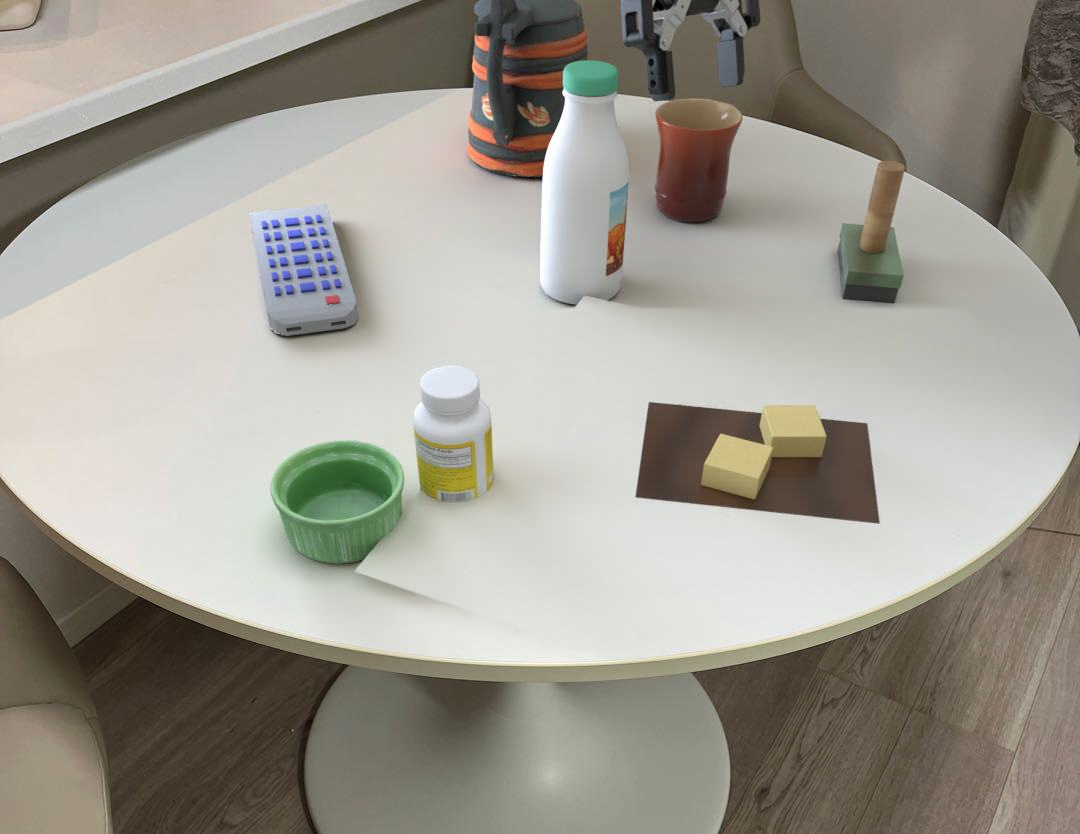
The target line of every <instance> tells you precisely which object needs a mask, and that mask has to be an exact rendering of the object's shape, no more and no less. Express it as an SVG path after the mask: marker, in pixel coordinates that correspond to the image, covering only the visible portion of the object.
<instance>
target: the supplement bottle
mask: <svg viewBox="0 0 1080 834" xmlns="http://www.w3.org/2000/svg"><path fill="white" fill-rule="evenodd" d="M419 387H420V400H421V401H420V403H419V404H418V405H417V406H416V407H415V409H414V412H413V418H412V420H413V423H412V424H413V434H414V444H415V452H416V453H415V454H416V463H417V472H418V473H417V474H418V481H419V483H418V484H419V490H420V492H424V493H425V494H426V495H427V496H429V497H431V498H432V499H435V500H438V501H441V502H447V503H463V502H468V501H472V500H475V499H477V498H479V497H481V496H483V495H484V494H485V493H487V492H489V490H490V489H491V488H492V486H493V484H494V480H495V479H494V478H495V476H494V454H493V427H492V424H493V423H492V413H491V410H490V407H489V406H488V404H487V403H486V401H485V400H483V399H482V398H481V387H480V379H479V376H478V375H477V373H476V372H474V371H473V370H472V369H470V368H468V367H464V366H461V365H442V366H437V367H435V368H432V369H430V370H428V371H427V372H426V373H425V374H423V376H422V377H421V379H420V382H419Z"/></svg>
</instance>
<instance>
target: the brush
mask: <svg viewBox="0 0 1080 834" xmlns="http://www.w3.org/2000/svg"><path fill="white" fill-rule="evenodd" d="M905 170H906V167H905V165H904V164H903V163H901V162H899V161H895V160H883V161H880V162H878V163H877V166H876V170H875V175H874V179H873V183H872V189H871V192H870V196H869V201H868V206H867V209H866V213H865V217H864V223H863V224H859V223H847V222H846V223H845V222H842V224H841V227H840V231H839V243H838V248H837V259H838V268H839V278H840V286H841V295H842V300H843V299H844V300H856V301H866V302H867V301H869V302H878V303H880V302H881V303H892V304H895V303H896V300H897V297H898V293H899V289H901V287H902V283H903V279H904V276H905V275H904V271H903V265H902V261H901V255H900V251H899V246H898V242H897V236H896V232H895V227H894V226H892V222H893V220H894V219H893V218H894V214H895V210H896V206H897V202H898V198H899V194H900V190H901V186H902V182H903V179H904V173H905Z"/></svg>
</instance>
